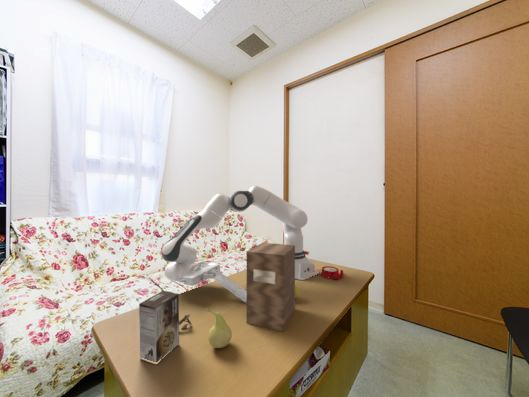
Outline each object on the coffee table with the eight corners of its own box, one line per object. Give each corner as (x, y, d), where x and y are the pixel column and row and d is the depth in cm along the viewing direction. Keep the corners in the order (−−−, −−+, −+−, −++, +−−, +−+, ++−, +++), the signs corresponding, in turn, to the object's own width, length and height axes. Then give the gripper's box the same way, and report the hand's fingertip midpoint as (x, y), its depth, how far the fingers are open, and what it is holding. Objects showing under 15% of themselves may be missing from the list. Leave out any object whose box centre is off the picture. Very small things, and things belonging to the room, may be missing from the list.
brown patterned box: (245, 323, 79) (245, 251, 78) (262, 302, 94) (262, 242, 94) (283, 332, 74) (283, 255, 73) (294, 308, 89) (294, 245, 89)
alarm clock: (324, 265, 134) (348, 265, 124) (326, 275, 133) (350, 276, 123) (315, 269, 127) (339, 269, 117) (317, 280, 126) (341, 281, 116)
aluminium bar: (207, 274, 101) (209, 269, 100) (211, 272, 104) (213, 267, 103) (245, 302, 93) (248, 297, 93) (248, 299, 96) (251, 294, 95)
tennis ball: (300, 300, 96) (300, 284, 96) (286, 303, 93) (286, 287, 93) (292, 294, 103) (292, 279, 102) (279, 296, 100) (279, 281, 100)
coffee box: (163, 340, 70) (163, 289, 70) (180, 344, 68) (179, 292, 68) (138, 360, 61) (138, 303, 61) (156, 366, 59) (156, 307, 59)
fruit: (232, 352, 64) (232, 311, 64) (206, 356, 63) (205, 314, 63) (231, 337, 71) (230, 301, 71) (207, 341, 69) (207, 303, 69)
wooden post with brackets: (194, 323, 77) (189, 313, 76) (173, 341, 73) (167, 331, 72) (192, 321, 79) (187, 311, 78) (171, 338, 74) (165, 328, 73)
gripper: (176, 273, 97) (200, 275, 91) (205, 260, 116) (228, 261, 110) (177, 288, 97) (202, 290, 91) (207, 272, 115) (229, 273, 110)
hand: (216, 274), depth 101 cm, fingers closed on aluminium bar, 3 cm apart
